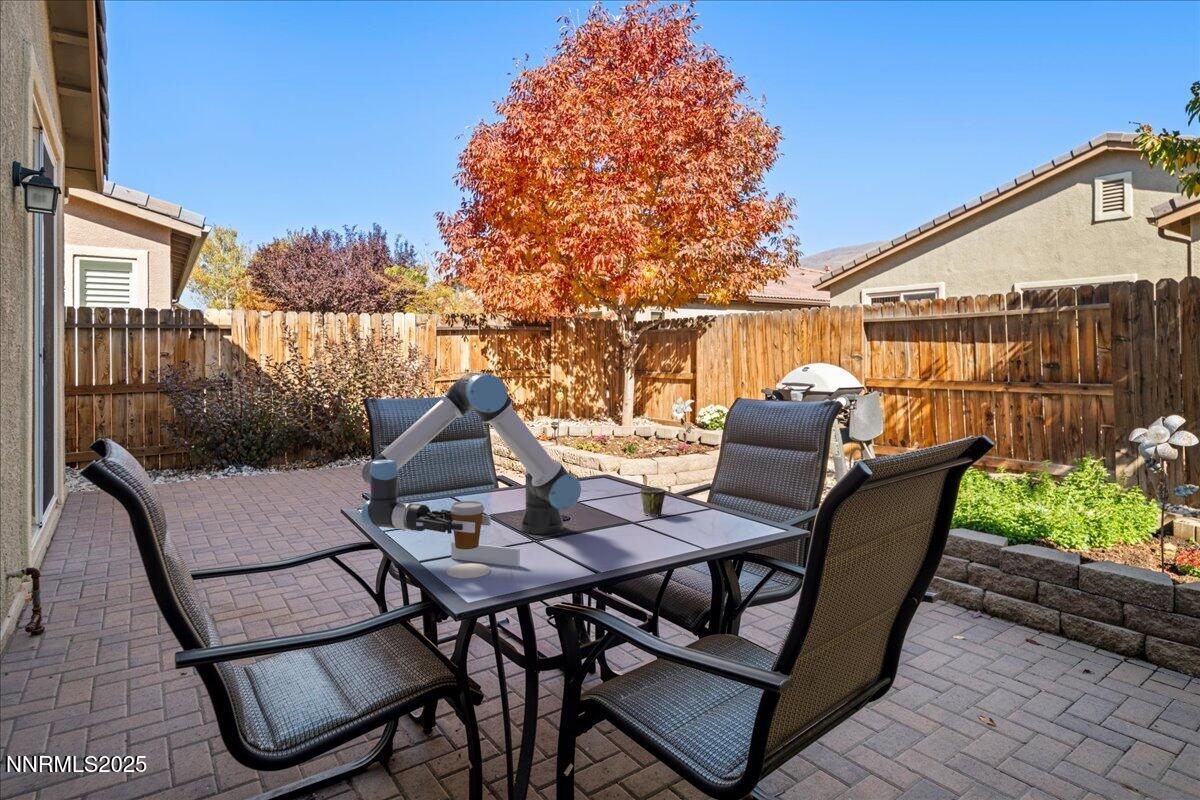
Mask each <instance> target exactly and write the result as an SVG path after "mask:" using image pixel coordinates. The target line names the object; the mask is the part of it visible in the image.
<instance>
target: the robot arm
mask: <svg viewBox="0 0 1200 800" xmlns="http://www.w3.org/2000/svg"><path fill="white" fill-rule="evenodd" d="M512 405H513V399H512V398H511V397H510V395H509V394H508V389H507V386H506V384H505V383H504V381H503V380H502V379H501V378H500V377H499V376H496V375H494V374H491V373H489V372H482V373H481V372H480V373H478V372H471V373H466V374H465V375H462V376H461V377H460V378H459V379H458V380H457V381H455V382H454V383H452V385H451V386H450V387H448V389H447V390H445V391H444V392H443V393H442V394H441V395H440V400H439V401H438V402H437V403H436V404H434V405H433V407H431V408H430V409H429V410H428V411H427V412H425V413H424V414H423V415H422V416H421V417H420V418H418V420H416V421H415V422H414V423H413V424H412V425H411V426H410V427H408V429H406V430H405V431H404V432H403V433H402V434H400V436H398V437H397V438H396V439H395V440H394V441H393V442H391V444H389V445H388V446H387V447H386V448H384V450H383V451H381V453H379V454H378V455H377V456H376V457H374V459H373V458H372V459H371V460H368V461H366V462H364V464H363V465H362V467H361V471H360V473H361V477H362V479H363V481H364V482H365V484H368V485H369V486H370V487H369V488H370V499H369V500H366V501H365V503H364V504H363V506H362V510H361V512H360V513H361V519H362V521H363V523H364V524H366V525H368V526H373V527H378V528H389V529H401V530H402V532H405V531H406V530H410V531H413V532H414V531H416V532H424V531H425V530H428V531H432V532H433V531H434V532H437V533H438V532H440V533H446V532H447V535H449V534H450V535H451V534H453V533H452V532H454V531H459V532H469V533H475V522H465V521H455V520H454V521H453V522H452V514H451V511H450V510H447V509H441V510H440V511H438V510H432V511H431V509H430V508H429V506H428V505H426V504H419V503H413V502H412V503H411V502H400V501H398V475H399V470H400V469H401V468H402V467H403V466H405V464H406V463H408V461H410V460H411V459H412V458H413V457H415V455H417V454H418V453H419V452H420V451H421V450H422V449H423V448H424V447H426V445H427V444H428V443H430V442H431V441H432V440H433V439H434V438H435V437H437V436H438V435H439V434H440V433H441V432H442V431H443V430H444V429H446V428H447V427H448V426H449V425H450V424H451V423H452V422H454V420H455V419H457V418H463V416H465V415H466V414H467V413H468V412H470V411H473V412H474V414H475V415H476V416H477V417H478V418H479V420H481V422H482V423H483V424H490V426H491V427H492V428H493V429H494V431H495V432H496V433H497V434H498V435H499V437H500V438H501V440H502V441H503V442H504V443H505V444H506V446H507V447H508V448H509V450H510V451H511V452H512V453H513V455H515V457H516V458H517V459H518V461H519V462H520V463H521V464H522V466H524V468H525V473H524V474H525V475H524V477H525V507H524V508H525V509H524V512H523V515H522V518H521V521H520V530H521V531H522V532H524V533H525V534H526V533H527V534H535V535H550V534H555V533H559V532H562V531H563V530H564V519H563V517H562V513H561V510H568V509H571V508H572V507H573V506H575V505H576V504H577V502H578V501H579V499H580V497H581V494H582V493H581V492H582V486H581V482H580V481H579V480H578V478H577V477H575V476H574V475H573V474H570V473H569V472H568V470H566V468H565V467H564V466H563V464H562V463H561V462H560V461H559V460H553V459H552V458H551V456H550V455H549V454H548V452H547V451H546V450H545V449H544V446H542V444H540V441H538V439H537V438H536V437H535V435H534V434H533V433H532V432H531V430H530V429H529V427H528V426H527V425H526V424H525V422H524V421H523V420H522V419H521V418H520V416H519V415H518V413H517V412H516V410H514V408H513V407H512ZM491 519H492V516H491V515H488V514H487V515H486V514H482V522H481V526H491V524H492V520H491Z"/></svg>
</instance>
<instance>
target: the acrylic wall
mask: <svg viewBox="0 0 1200 800" xmlns="http://www.w3.org/2000/svg"><path fill="white" fill-rule="evenodd" d="M450 543H451V544H450V545H451V546H450V547H451V551H450V552H451V556H450V557H451V559H452V560H460V561H467V562H468V561H469V562H476V563H481V564H482V563H484V564H493V565H501V566H510V567H518V568H519V567H520V566H521V564H520V563H521V548H518V547H509V546H501V545H499V546H498V545H490V544H480V543H479V545H478V547H477V548H474V549H468V550H463V549H458V548H456V547H455V540H454V541H452V542H450Z"/></svg>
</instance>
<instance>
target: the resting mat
mask: <svg viewBox="0 0 1200 800" xmlns="http://www.w3.org/2000/svg"><path fill="white" fill-rule="evenodd" d="M490 572H491V568H490V566H488V565H486V564H482V563H473V562H472V563H462V564H456V565H453V566H450V567H449V568H447V570H446V575H447V576H448V577H450V578H453V579H459V580H460V579H461V580H464V579H465V580H469V579H478V578H481V577H485V576H487V575H489V574H490Z"/></svg>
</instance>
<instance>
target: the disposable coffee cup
mask: <svg viewBox="0 0 1200 800" xmlns="http://www.w3.org/2000/svg"><path fill="white" fill-rule="evenodd" d="M484 510H485V507H484V505H483V502H480V501H475V500H462V501H461V500H460V501H456V502H453V503H451V505H450V508H449V511H451V514H452V523H453V521H454V520H455V521H465V522H475V533H469V532H459V531H453V536H454V537H453V539H454V541H455V547H456V548H458V549H463V550H468V549H474V548H477V547H478V545H479V544H480V537H481V536H480V535H481V529H482V525H481V522H482V515H484V514H483V513H484Z"/></svg>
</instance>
